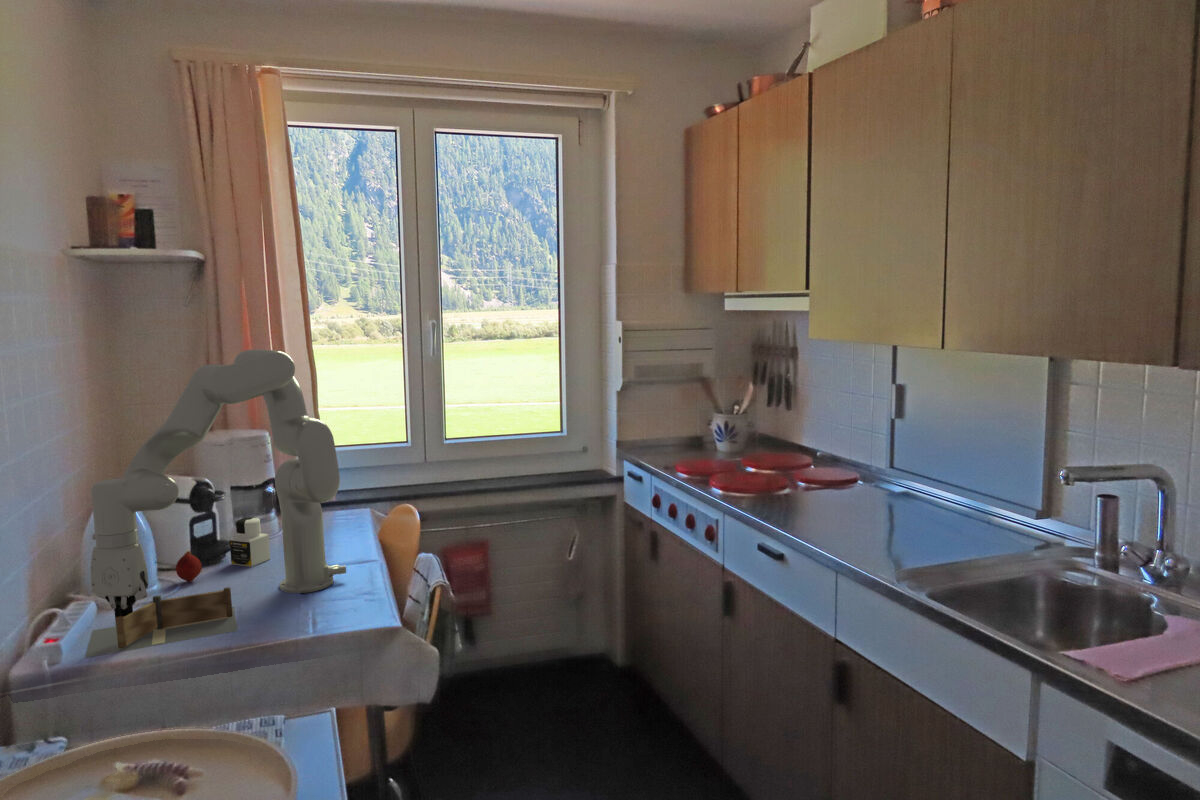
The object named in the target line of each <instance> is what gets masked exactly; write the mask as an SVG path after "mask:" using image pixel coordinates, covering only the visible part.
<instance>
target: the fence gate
mask: <svg viewBox="0 0 1200 800" xmlns="http://www.w3.org/2000/svg"><path fill="white" fill-rule="evenodd" d="M115 620H116V621H115ZM114 621H115V626H116V630H117V640H118V648H124V647H126V646H127V645H128V644H130V643H132V642H134V641H135V640H137V639H139V638H141V637H142V636H144V635H146V634H148V633H149V632H151V631H153V630H155V629H156V628H158V625H157V614H156V603H155V602H153V601H152V602H150V603H147V604H145V605H143V606H141V607H140V608H138V609H136V610H133V612H132V613H130V614H128V615H126V616H124V617H123V616H118V617H116V618H115V617H114Z"/></svg>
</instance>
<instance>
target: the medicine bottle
mask: <svg viewBox="0 0 1200 800" xmlns="http://www.w3.org/2000/svg"><path fill="white" fill-rule="evenodd" d="M235 530H236V536H235V537H231V538H229V549H230V552H229V553H230V563H231V565H234V566H241V567H251V568H252V567H254V566H257V565H259V564H261V563H264V562H268V561H269V560H271V552H270V551H271V550H270V538H269V534H268V533H261V532H262V530H261V519H260V518H258V517H254V516H250V517H249V516H247V517H243V518H240V519H238V520H236V521H235Z"/></svg>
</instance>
